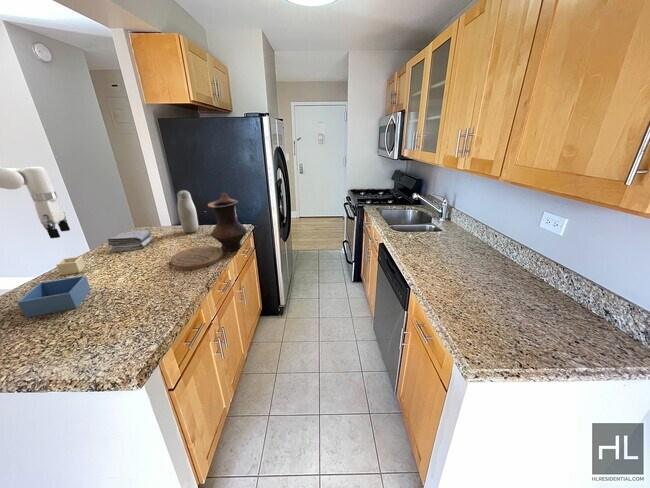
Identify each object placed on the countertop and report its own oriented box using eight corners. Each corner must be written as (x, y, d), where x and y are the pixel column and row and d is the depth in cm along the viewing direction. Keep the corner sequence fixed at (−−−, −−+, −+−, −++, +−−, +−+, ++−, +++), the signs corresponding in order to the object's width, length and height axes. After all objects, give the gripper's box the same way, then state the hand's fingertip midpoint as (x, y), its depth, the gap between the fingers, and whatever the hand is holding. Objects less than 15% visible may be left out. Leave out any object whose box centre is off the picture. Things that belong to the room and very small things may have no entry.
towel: (144, 249, 147) (141, 236, 144) (107, 252, 143) (102, 239, 140) (154, 239, 161) (150, 228, 158) (120, 242, 157) (116, 230, 154)
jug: (249, 252, 142) (242, 198, 131) (213, 256, 137) (202, 201, 126) (248, 239, 161) (242, 191, 150) (216, 242, 156) (207, 193, 145)
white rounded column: (180, 232, 173) (170, 190, 163) (194, 228, 181) (186, 188, 170) (188, 235, 168) (178, 192, 157) (202, 231, 176) (194, 189, 165)
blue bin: (25, 318, 91) (16, 302, 88) (46, 297, 103) (39, 282, 101) (76, 308, 96) (69, 293, 94) (91, 289, 108) (85, 275, 106)
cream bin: (60, 275, 119) (55, 264, 117) (67, 269, 125) (63, 258, 123) (79, 272, 122) (75, 262, 120) (85, 266, 128) (81, 256, 126)
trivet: (193, 247, 149) (192, 244, 149) (232, 250, 145) (232, 247, 144) (159, 267, 127) (158, 263, 126) (204, 271, 122) (203, 268, 121)
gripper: (44, 194, 117) (59, 229, 124) (20, 202, 102) (39, 242, 109) (65, 192, 120) (79, 227, 126) (45, 200, 105) (62, 239, 112)
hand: (60, 234), depth 118 cm, fingers open, 9 cm apart
